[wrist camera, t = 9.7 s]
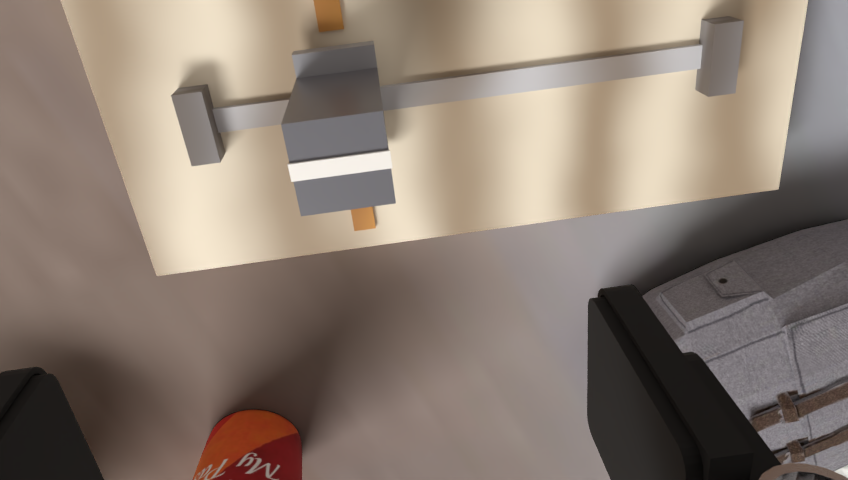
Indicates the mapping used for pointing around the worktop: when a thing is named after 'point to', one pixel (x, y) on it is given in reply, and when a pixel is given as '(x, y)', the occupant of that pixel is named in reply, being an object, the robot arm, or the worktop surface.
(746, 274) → the small grey backpack
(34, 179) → the worktop surface
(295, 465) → the paper cup
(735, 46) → the console
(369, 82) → the fader
